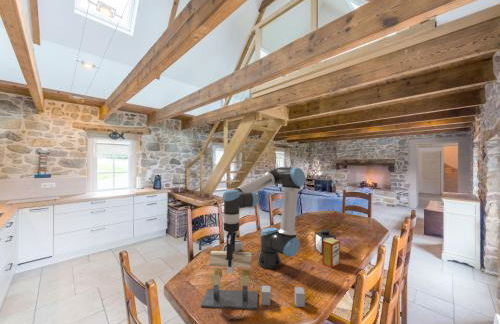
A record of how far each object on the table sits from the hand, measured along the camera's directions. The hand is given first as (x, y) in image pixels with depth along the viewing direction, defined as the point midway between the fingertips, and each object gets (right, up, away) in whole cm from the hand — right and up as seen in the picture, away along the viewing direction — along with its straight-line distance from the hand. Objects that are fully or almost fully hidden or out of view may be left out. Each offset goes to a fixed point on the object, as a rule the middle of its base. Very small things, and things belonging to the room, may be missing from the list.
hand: (230, 270), depth 101 cm
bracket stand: (0, -14, 0) cm, 14 cm away
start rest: (+25, -14, -2) cm, 29 cm away
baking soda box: (+63, -16, +37) cm, 75 cm away
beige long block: (0, +3, 0) cm, 3 cm away
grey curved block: (-4, -16, +55) cm, 57 cm away
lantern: (+67, -16, +58) cm, 90 cm away
